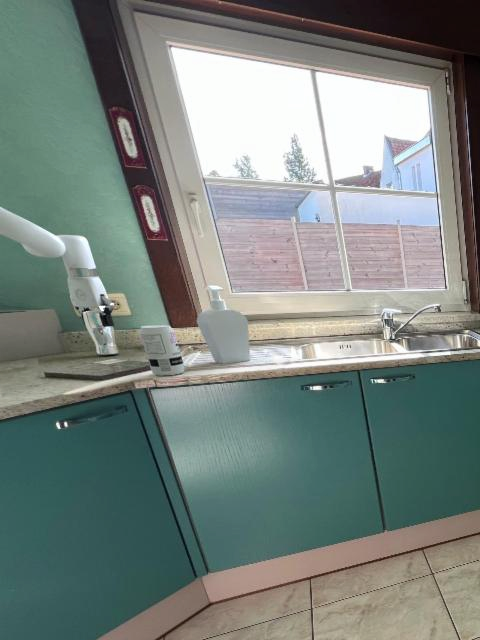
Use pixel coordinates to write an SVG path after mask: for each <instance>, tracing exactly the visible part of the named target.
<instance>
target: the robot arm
mask: <svg viewBox="0 0 480 640" xmlns="http://www.w3.org/2000/svg"><path fill="white" fill-rule="evenodd" d="M0 235H2V236H4V237H6V238H9V239H11V240H13V241H15V242H17V243H19V244H21V245H22V247H23V248H24V250H25V251H26V252H27V253H29V254H31V255H33V256H35V257H39V258H47V259H48V258H50V259H57V258H62V261H63V265H64V267H65V270H66V273H67V276H68V277H67V288H68V292H69V295H70V299H71V301H70V304H71V305H72V306H73V307H74V308H75V310H76V311H78V314H79V315H80V316H81V319H82V322H83V325H84V326H85V327H86V325H85V321H84V317H83V313H82V312H85V311H91V309H97V311H99V312H100V313H101V314H102V315H100V317H101V320H102V323H103V326H104V327H110V326H113V327H115V323H114V320H113V317H112V315H113V311H114V307H115V303H114V302H112V301H111V300H110V299H109V296H108V293H107V290H106V287H105V285H104V284H103V282H102V280H101V278H100V275H99V273H98V270H97V266H96V263H95V260H94V257H93V253H92V251H91V247H90V243H89V241H88V239H87V238H86V237H85V236H84V235H77V234H58V235H56V234H54V233H52V232H50V231H48V230H47V229H44V228H43V227H41V226H39V225H37V224H35V223H33V222H31V221H29V220H28V219H26V218H25V217H21V216H20V215H18V214H15V213H13V212H12V211H9V210H7V209H6V208H3V206H2V207H1V206H0Z"/></svg>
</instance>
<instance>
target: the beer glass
mask: <svg viewBox="0 0 480 640" xmlns="http://www.w3.org/2000/svg"><path fill="white" fill-rule="evenodd" d="M82 313H83V317H84V321H85V325H86V326H85V325H84V326H85V327H86V329H87V332H88V333H89V336H90V337H91V339H92V340H93V343H94V344H95V349H96V350H95V351H96V355H97V356H111V355H118V354H120V353H121V352H120V350H119V348H118V346H117V344H116V341H115V330H114V326H110V327H104V326H103V323H102V320H101V317H100V315H102V314H101V313H100V312H99V310H90V311H85V312H82Z"/></svg>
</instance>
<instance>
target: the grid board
mask: <svg viewBox="0 0 480 640" xmlns="http://www.w3.org/2000/svg"><path fill="white" fill-rule="evenodd" d="M148 370H149V371H152V370H151V367H150V364H149V361H148V360H130V359H116V358H115V359H114V358H111V359H106V360H99V361H95V362H90V363H85V364H79V365H74V366H67V367H64V368H58V369H53V370H47V371H43V374H44V377H45V378H57V379H70V380H71V379H73V380H87V381H88V380H89V381H107V380H108V381H109V380H112V379H116V378H121V377H126V376H131V375H136V374H139V373H143V372H148Z"/></svg>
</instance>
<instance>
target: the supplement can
mask: <svg viewBox="0 0 480 640" xmlns="http://www.w3.org/2000/svg"><path fill="white" fill-rule="evenodd" d="M139 336H140V338H141V342H142V346H143V348H144V351H145V355H146V357H147V362H149V364H150V367H151V370H150V371H151V373H152V374H153V375H155V376H156V375H172V376H174V375H173V374H178V375H181V374H180V373H182V374H184V373H185V371H186V367H185V363H184V360H183V356H182V354H181V353H182V352H181V350H180V346H179V342H178V340H177V336H176V333H175V330H174V329H173V328H172V326H171V325H170V324H149V325H142V326H140V329H139ZM183 372H184V373H183Z"/></svg>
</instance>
